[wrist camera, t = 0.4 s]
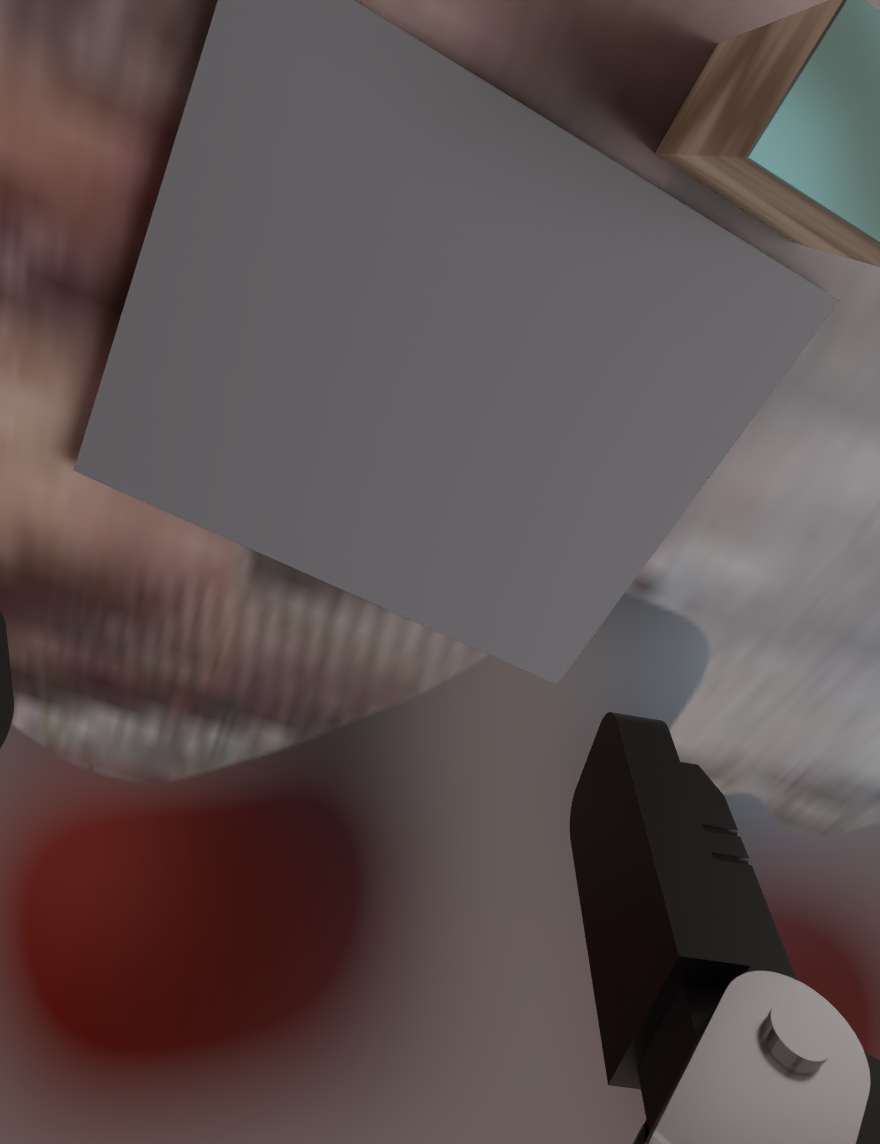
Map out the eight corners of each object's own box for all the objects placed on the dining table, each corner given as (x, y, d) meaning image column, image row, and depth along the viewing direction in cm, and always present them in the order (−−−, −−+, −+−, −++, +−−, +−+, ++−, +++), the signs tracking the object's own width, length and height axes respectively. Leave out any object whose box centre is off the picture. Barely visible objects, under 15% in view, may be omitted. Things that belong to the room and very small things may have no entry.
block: (717, 43, 29) (852, -9, 19) (865, 143, 30) (1060, 142, 20) (654, 153, 30) (748, 157, 21) (797, 243, 32) (947, 285, 22)
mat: (246, -64, 27) (239, -71, 26) (829, 295, 33) (839, 300, 32) (82, 462, 37) (73, 470, 36) (554, 673, 42) (556, 684, 41)
